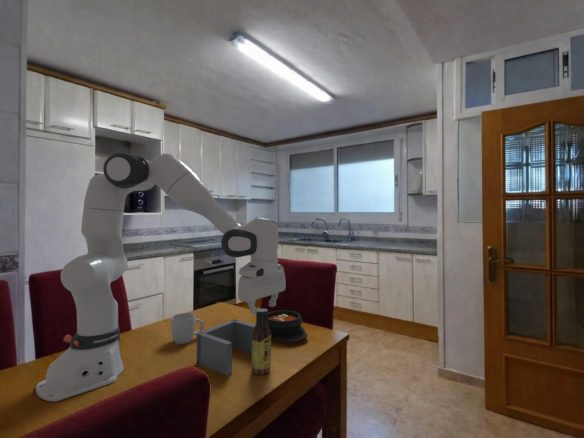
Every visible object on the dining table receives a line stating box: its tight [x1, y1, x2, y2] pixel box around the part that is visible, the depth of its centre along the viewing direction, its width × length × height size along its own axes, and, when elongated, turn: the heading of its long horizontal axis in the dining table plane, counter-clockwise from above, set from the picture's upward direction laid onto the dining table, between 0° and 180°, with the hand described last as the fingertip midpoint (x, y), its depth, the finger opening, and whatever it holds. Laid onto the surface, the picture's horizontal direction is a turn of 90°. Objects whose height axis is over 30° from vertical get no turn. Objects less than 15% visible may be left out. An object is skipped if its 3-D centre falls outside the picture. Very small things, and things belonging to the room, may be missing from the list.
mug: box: [170, 312, 205, 345], centre depth 125 cm, size 13×9×10 cm
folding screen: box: [196, 319, 256, 376], centre depth 110 cm, size 18×15×10 cm
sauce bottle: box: [251, 308, 272, 376], centre depth 101 cm, size 7×6×20 cm
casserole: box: [268, 309, 308, 343], centre depth 131 cm, size 25×19×8 cm
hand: (263, 309), depth 101 cm, fingers open, 8 cm apart
